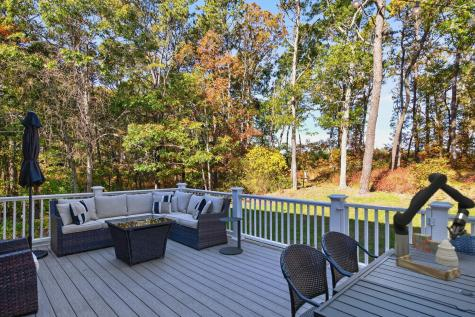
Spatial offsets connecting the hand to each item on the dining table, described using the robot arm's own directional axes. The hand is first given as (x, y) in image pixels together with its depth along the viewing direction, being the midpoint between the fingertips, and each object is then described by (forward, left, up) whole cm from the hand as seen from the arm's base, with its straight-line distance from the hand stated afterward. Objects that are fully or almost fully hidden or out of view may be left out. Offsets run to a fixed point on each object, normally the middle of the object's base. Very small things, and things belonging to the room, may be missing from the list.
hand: (453, 239), depth 200 cm
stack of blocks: (-9, +24, -16) cm, 30 cm away
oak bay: (-27, -27, -16) cm, 41 cm away
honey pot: (-8, -8, -16) cm, 19 cm away
